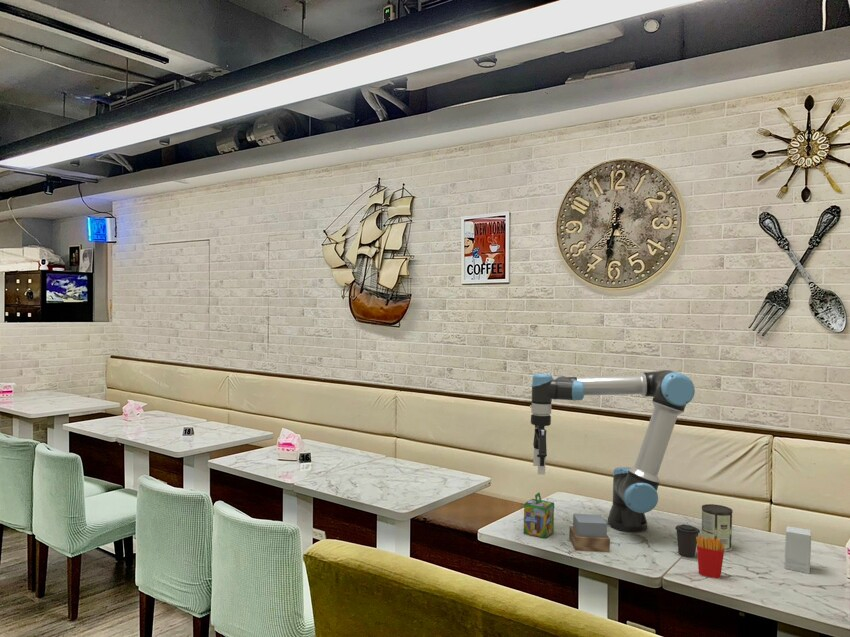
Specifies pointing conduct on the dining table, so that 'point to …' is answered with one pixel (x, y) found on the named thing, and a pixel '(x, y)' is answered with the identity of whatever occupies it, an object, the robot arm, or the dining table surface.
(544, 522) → the chalk box
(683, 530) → the coffee cup
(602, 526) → the slate top block
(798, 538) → the supplement box
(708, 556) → the french fries
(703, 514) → the coffee can
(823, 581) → the dining table surface
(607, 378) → the robot arm
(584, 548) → the walnut base block
